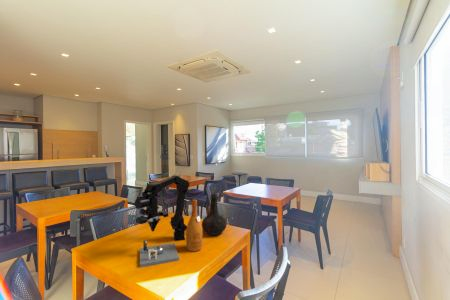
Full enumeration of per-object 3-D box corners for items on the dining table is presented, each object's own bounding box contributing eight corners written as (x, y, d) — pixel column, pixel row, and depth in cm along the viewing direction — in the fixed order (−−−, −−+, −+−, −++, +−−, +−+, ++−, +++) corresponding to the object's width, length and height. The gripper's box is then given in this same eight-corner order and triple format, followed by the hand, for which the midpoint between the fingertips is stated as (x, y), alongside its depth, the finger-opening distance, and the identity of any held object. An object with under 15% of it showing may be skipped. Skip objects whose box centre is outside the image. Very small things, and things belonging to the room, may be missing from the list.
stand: (173, 245, 141) (173, 234, 141) (179, 260, 122) (179, 247, 122) (139, 250, 133) (139, 238, 133) (140, 267, 115) (140, 253, 115)
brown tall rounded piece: (189, 253, 130) (189, 202, 129) (184, 246, 138) (184, 198, 138) (204, 250, 134) (204, 200, 134) (199, 243, 143) (199, 196, 142)
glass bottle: (211, 240, 148) (211, 198, 148) (197, 232, 162) (196, 193, 162) (231, 233, 159) (231, 194, 159) (216, 226, 173) (216, 190, 173)
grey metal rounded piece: (145, 249, 131) (145, 239, 131) (164, 250, 130) (164, 239, 130) (138, 257, 122) (138, 245, 122) (158, 258, 121) (158, 246, 121)
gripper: (158, 200, 145) (158, 224, 145) (130, 206, 130) (130, 232, 130) (168, 202, 138) (169, 228, 138) (141, 209, 123) (141, 237, 123)
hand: (152, 231), depth 132 cm, fingers closed
